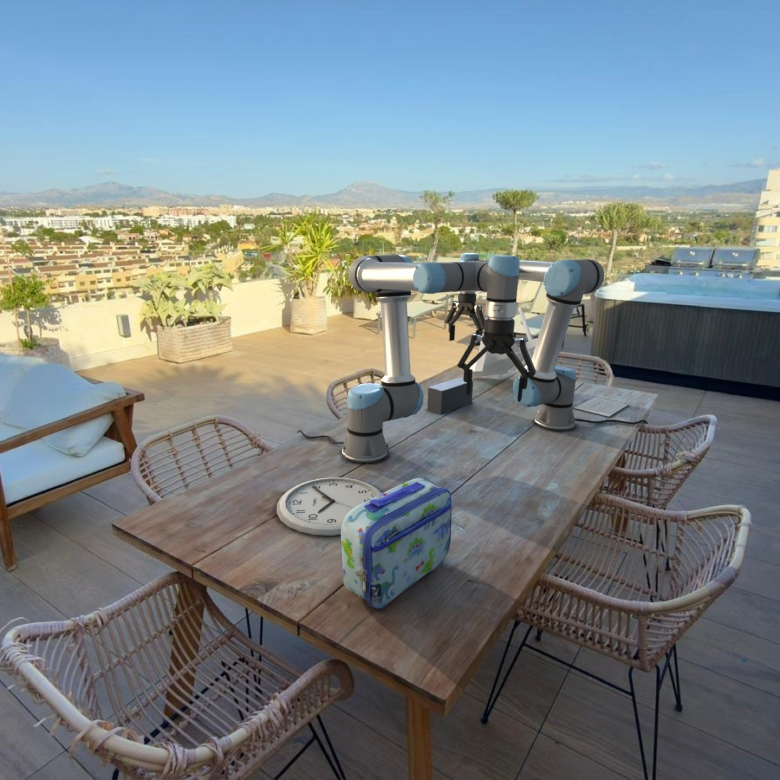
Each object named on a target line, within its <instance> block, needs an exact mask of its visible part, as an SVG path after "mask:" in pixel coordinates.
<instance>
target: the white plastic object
mask: <svg viewBox="0 0 780 780" xmlns="http://www.w3.org/2000/svg"><path fill="white" fill-rule="evenodd" d="M517 310H518V314H519V316H520V319H521V322H522V325H523V328H524V332H525V334H526V338H527V341H526V348H527V350H528V353H529V355H530V357H531V360H532V357H533V353H534V350H535V347H536V343H537V340H538V337H535V338H533V336H532V334H531V331H530V328H529V325H528V322H527V319H526V316H525V313H524V311H523V309H522V307H520V306H519V307H517ZM483 335H484V333H483V334H482V336H483ZM484 347H485V345H484V344H483V342H482V340H481V341H480V345H479V348H478V352H477V354H478V353H479V352H480V351H481V350H482V349H483V348H484ZM511 348H512V349H513V351H514V353H515V354H516V356H517V357H518V358H519V360H520V361H521V362H522V361H524V358H523V356H522V353H521V350H520V347H518V346H517V344H515V343H514V344H513V346H512V347H511ZM468 363H469V362H467V363H466V364H468ZM514 367H516V366H515V365H514V364H513V362H512V361H511V359H510V358H509V357H508V356H507V355H506V353H505V354H503V355H501V354H497V353H495V354H491V353H490V352H488V351H487V352H486V353H485V354H484V355H483V356H482V357H481V358H480V359H479V360H478V361H477V362H476V363H474V364H473V365H472V366H471V367H470V369H473V373H472V378H480V377H488V376H489V377H490V376H497V375H498V376H499V377H501V376H504V375H506V374H509V371H510V370H511V369H513V368H514Z"/></svg>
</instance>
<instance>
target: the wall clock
mask: <svg viewBox="0 0 780 780" xmlns="http://www.w3.org/2000/svg"><path fill="white" fill-rule="evenodd" d="M382 493H383V492H382V491H381V490H380V489H379V488H377V487H376V486H374V485H372V484H371V483H369V482H365V481H362V480H359V479H355V478H349V477H338V476H337V477H335V476H333V477H332V476H331V477H322V478H317V479H312V480H307V481H305V482H302V483H299V484H297V485H295V486H293V487H292V488H290V489H288V490H287V491H286V492H285V493H284V494H283V495H281V496H280V498H279V499H278V502H277V503H276V515H277V517H278V518H279V520H280V521H281V522H282V523H283V524H285V525H286V526H287V527H288V528H290V529H293V530H295V531H297V532H299V533H303V534H308V535H312V536H327V537H328V536H329V537H331V536H332V537H333V536H341V528H342V523H343V520H344V518H345V517H346V515H347V514H348V512H349V511H350V510H351V509H353V508H354V507H356V506H358V505H360V504H362V503H364V502H366V501H368V500H370V499H372V498H374V497H376V496H378V495H380V494H382Z"/></svg>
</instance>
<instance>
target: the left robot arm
mask: <svg viewBox="0 0 780 780" xmlns="http://www.w3.org/2000/svg"><path fill="white" fill-rule="evenodd" d="M488 260H489V263H487V262H478V261H473V260H466V261H460V260H459V261H444V262H443V261H441V262H439V261H437V262H434V261H431V262H430V261H427V262H423V261H422V262H421V261H419V262H417V261H416V262H414V261H413V260H412V259H411V258H410V256H407V255H403V254H380V255H379V254H377V255H375V254H373V255H372V254H370V255H369V254H367V255H363V256H360V257H358V258H356V259H355V260H354V261H353V262H352V263H351V265H350V267H349V269H348V279H349V282H350V284H351V286H352V287H353V288H354V289H355V290H357V291H359V292H361V293H367V294H374V293H375V299H376V300H377V301H378V302H379V303H380V313H381V329H382V343H383V344H382V345H383V361H384V373H385V374H384V375H383V377H382V378H381V379H380V382H381V384H379V383H375V382H370V383H366V382H365V383H361V384H357V385H355V386H353V387H352V388H350V390H348V392H347V399H346V411H347V412H346V413H347V415H346V417H347V419H346V420H347V422H346V424H347V432H346V436H345V439H344V441H334V440H333V437H331V436H329V435H323V434H322V435H312V436H311V435H307V434H305V433H304V431H303V430H302V429H299V430H297V431H296V433H301V435H302V436H303V437H304V438H305V439H320V438H327V439H329V440H330V442H331V444H333V445H342V448H341V455H342V457H343V458H344V459H345V460H346V461H349V462H352V463H355V464H373V463H377V462H378V463H379V462H381V461H383V460H385V459H386V458H387V457H388V455H389V444H388V442H387V441H386V439H385V436H384V432H383V431H384V428H383V427H384V426H383V425H384V423H385V422H390V421H395V420H399V419H403V418H404V419H405V418H409V417H412V416H414V415H416V414H418V413H419V412H420V410H421V409H422V407H423V405H424V400H425V399H424V397H425V396H424V391H423V389H422V386H421V384H420V383H419V382H417V381H416V377H415V376H414V375H413V374H412V373H411V372H412V371H411V353H410V335H409V319H408V318H409V317H408V301H409V300H410V298H411V297H412V292H419V293H420V294H427V295H434V294H442V293H455V292H458V293H459V292H460V291H476V292H483V293H486V300H485V311H484V312H485V314H484V315H485V316H486V317H485V318H484V319H485V326H484V330H483V334H484V335H483V336H480V335H478V334H476V332H475V333H474V334H472V335H471V336H470V341H469V344H468V346H467V348H466V349H465V351H464V353H463V355H462V356H461V357H460V360H459V361H458V363H457V368H459V369H461V370H463V377H462V378H463V380H464V382H467V390H466V395H469V394H470V393H471V388H472V381H473V377H472V373H473V369H470V367H471V366H472V365H473V364H474V363H476V362H477V361H478V360H479V359H480V358H481V357H482V356H483V355H484V354H485V353H486V352H487V351H488V352H490V353H491V354H495V353H497V354H501V355H503V354H505V353H506V355H507V356H508V357H509V358H510V359H511V361H512V362H513V364H514V365H515V366H514V367H515V368H516V369H517V371H518V372H519V373H520V376H519V377H520V378H519V388H518V399H516V402H518V403H519V402H520V401H521V399H522V391H523V389H526V387H527V383H528V377H529V376H534V375H535V373H536V370H535V367H534V365H533V362H532V360H531V357H530V355H529V353H528V350H527V348H526V342H527V339H526V337H521V338H516V337H515V335H514V334H515V325H516V320H515V318H516V313H517V312H516V311H517V299H518V298H517V297H518V289H519V287H518V286H519V275H520V273H519V260H520V258H519V257H518V256H517V255H507V254H506V255H505V254H494V255H491V256H490V257H489V259H488ZM480 340H482V342H483V344H484V345H485V347H484V348H483V349H482V350H481V351H480V352H479V351H478V352H479V353H478V352H477V354H476V355H475V356H474V357H473V358H472V359H471V360H470V361H469V362H467V363H468V364H467V363H466V361H467V360H468V359H469V357H470V355H471V354H472V352H473V350H474V348H475V347H476V346H475V345H476V343H478V342H479V341H480ZM480 342H481V341H480ZM514 343H515V344H517V346H518V347H520V350H521V353H522V356H523V358H524V360H523V362H524V363H525V366H527V368H528V370H529V371H527V370H526V368H525V366H524V364H523V363H522V361H520V360H519V358H518V357H517V356H516V354H515V353H514V351H513V349H512V348H511V347H512V346H513V344H514Z"/></svg>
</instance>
